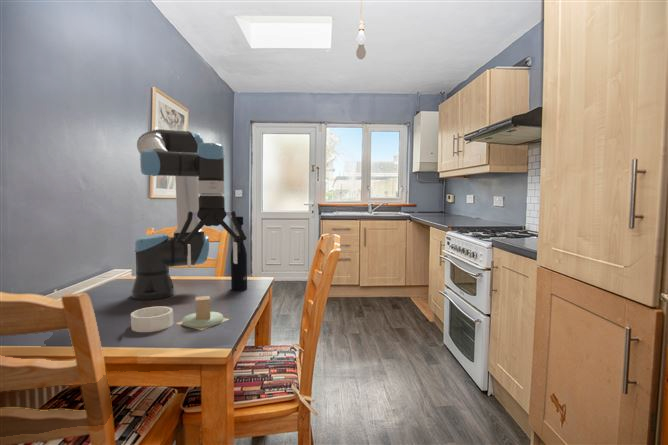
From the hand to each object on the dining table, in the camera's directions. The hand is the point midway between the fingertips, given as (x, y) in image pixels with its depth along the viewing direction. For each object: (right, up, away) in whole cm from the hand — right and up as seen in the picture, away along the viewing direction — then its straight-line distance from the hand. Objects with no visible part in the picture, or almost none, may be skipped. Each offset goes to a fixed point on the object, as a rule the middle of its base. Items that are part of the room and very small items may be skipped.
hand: (212, 264), depth 119 cm
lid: (-3, -17, -1) cm, 17 cm away
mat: (-3, -18, -1) cm, 18 cm away
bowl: (-16, -18, -5) cm, 25 cm away
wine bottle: (-2, -15, +42) cm, 45 cm away
